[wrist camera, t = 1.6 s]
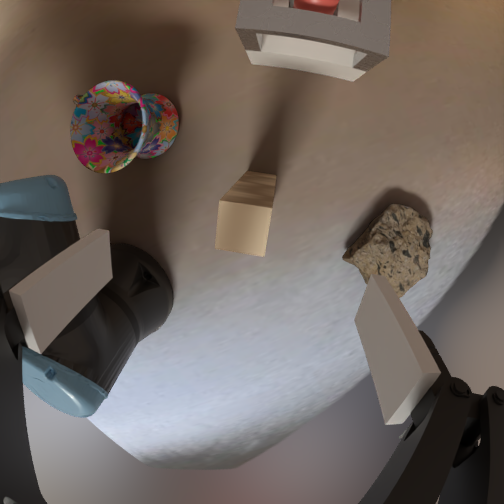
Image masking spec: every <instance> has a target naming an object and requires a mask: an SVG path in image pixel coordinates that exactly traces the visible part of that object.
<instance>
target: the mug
mask: <svg viewBox="0 0 504 504" xmlns="http://www.w3.org/2000/svg"><path fill="white" fill-rule="evenodd" d="M73 102H74V103H75V104H76V105H77V106H76V109H75V111H74V114H73V117H72V121H71V130H70V134H71V142H72V146H73V149H74V152H75V154H76V156H77V158H78V159H79V160H80V162H81V163H82V164H83V165H84V166H85V167H87V168H88V169H90V170H92V171H94V172H98V173H111V172H115V171H118V170H120V169H122V168H123V167H125V166H126V165H128V164H129V163H130V162H131V161H132V160H133V159H134V158H135V157H138V158H143V159H150V158H154V157H157V156H159V155H161V154H162V153H164V152H165V151H166V150H167V149H168V148H169V147H170V146H171V145H172V143H173V142H174V140H175V138H176V135H177V132H178V127H179V119H178V114H177V111H176V109H175V107H174V105H173V104H172V103H171V101H169V100H168V99H167V98H166V97H164V96H162V95H159V94H155V93H148V94H144V95H140V93H139V92H138V91H137V90H136V89H135V88H134V87H133V86H131V85H130V84H128V83H126V82H123V81H119V80H109V81H105V82H102V83H99V84H97V85H95V86H94V87H92V88H91V89H90V90H89V91H88V92H86V94H85V95H76V96H75V97H74V99H73Z"/></svg>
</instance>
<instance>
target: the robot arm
mask: <svg viewBox="0 0 504 504" xmlns="http://www.w3.org/2000/svg"><path fill="white" fill-rule="evenodd" d="M76 219H77V216H76V214H75V213H74V211H73V208H72V204H71V200H70V196H69V192H68V188H67V185H66V183H65V182H64V181H63V179H61V178H60V177H58V176H56V175H44V176H37V177H31V178H25V179H19V180H14V181H9V182H5V183H0V504H47V502H46V501H45V500H44V498H43V496H42V494H41V492H40V490H39V486H38V482H37V478H36V474H35V470H34V465H33V461H32V456H31V451H30V446H29V440H28V433H27V427H26V418H25V408H24V396H23V384H24V385H26V387H27V388H28V389H29V390H31V391H32V392H33V393H34V394H35V395H37V396H38V397H39V398H40V399H42V400H43V401H44V402H46V403H47V404H49V405H50V406H52V407H54V408H56V409H58V410H59V411H62V412H64V413H66V414H69V415H71V416H75V417H81V418H82V417H83V418H84V417H89V416H91V415H93V414H94V413H95V412H96V411H97V409H98V408H99V406H100V405H101V403H102V402H103V400H104V399H106V398H107V397H108V394H109V392H110V390H111V388H112V387H113V385H114V383H115V381H116V380H117V378H118V376H119V374H120V373H121V371H122V369H123V367H124V366H125V364H126V362H127V360H128V359H129V357H130V355H131V354H132V352H133V350H134V348H135V347H136V345H137V344H138V342H140V341H141V340H143V339H144V338H146V337H147V336H148V335H150V334H151V333H153V332H155V331H157V330H158V329H159V328H160V327H161V326H162V325H163V324H164V322H165V321H166V319H167V317H168V316H169V314H170V312H171V309H172V305H173V292H172V288H171V285H170V282H169V279H168V277H167V275H166V274H165V272H164V271H163V269H162V268H161V266H160V265H159V264H158V263H157V262H156V261H155V260H154V259H153V258H152V257H151V256H150V255H148V254H147V253H146V252H144V251H142V250H140V249H139V248H136V247H134V246H131V245H127V244H111V245H110V236H109V230H103V229H96V230H94V231H93V232H91V233H90V234H88V235H87V236H85V237H83V238H82V239H80V237H79V233H78V229H77V225H76V221H75V220H76ZM354 321H355V324H356V327H357V330H358V333H359V336H360V339H361V342H362V345H363V348H364V351H365V355H366V358H367V361H368V364H369V368H370V371H371V374H372V378H373V381H374V385H375V388H376V392H377V395H378V399H379V403H380V406H381V410H382V414H383V418H384V422H385V424H386V425H387V424H388V425H389V424H401V423H403V422H404V421H405V420H406V419H407V417H408V416H409V415H410V414H411V416H412V420H413V422H412V424H411V425H410V426H409V427H408V428H407V429H406V430H405V431H404V432H403V434H402V435H401V436H400V437H399V438H400V439H401V438H402V437H403V438H402V439H401V441H400V443H399V445H398V446H397V448H396V450H395V451H394V453H393V455H392V456H391V458H390V459H389V461H388V463H387V464H386V466H385V467H384V469H383V470H382V472H381V473H380V475H379V476H378V478H377V479H376V480H375V482H374V483H373V485H372V486H371V488H370V489H369V490H368V492H367V493H366V494H365V496H364V497H363V498H362V500H361V501H360V502H359V503H358V504H435V503H436V502H437V499H438V497H439V495H440V497H439V501H438V504H504V391H503V389H501V388H499V387H496V386H491V387H489V389H488V390H487V391H486V392H485V394H484V395H479V394H474V393H472V392H471V389H470V388H469V386H468V385H467V384H466V383H465V382H464V381H463V380H461V379H459V378H456V377H451V375H450V373H449V371H448V369H447V367H446V365H445V364H444V362H443V360H442V358H441V356H440V355H439V353H438V351H437V349H436V348H435V346H434V344H433V342H432V341H431V339H430V338H429V337H428V336H427V335H426V334H425V333H424V332H423V331H419V330H417V328H416V326H415V324H414V322H413V321H412V319H411V317H410V316H409V314H408V312H407V311H406V309H405V307H404V306H403V304H402V302H401V301H400V299H399V298H398V296H397V294H396V293H395V291H394V290H393V288H392V286H391V285H390V283H389V282H388V280H387V279H386V277H385V276H382V275H376V274H371V276H370V279H369V282H368V284H367V287H366V290H365V293H364V296H363V298H362V301H361V304H360V307H359V309H358V312H357V314H356V317H355V320H354ZM480 438H481V441H480V444H479V446H478V440H479V439H480Z"/></svg>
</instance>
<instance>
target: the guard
mask: <svg viewBox="0 0 504 504" xmlns="http://www.w3.org/2000/svg"><path fill="white" fill-rule="evenodd" d="M273 3H274V0H240V5H239V11H238V16H237V21H236V27H235V29H236V31H237V33H238V35H239V37H240V39H241V41H242V44H243V46H244V48H245V50H249V51H260V52H261V48H262V41H263V37H262V34H268V35H277V36H285V37H292V38H298V39H304V40H310V41H315V42H320V43H325V44H330V45H334V46H339V47H343V48H347V49H351V50H355V51H357V52H356V53H355V54H354V57H353V66H352V68H355V69H358V70H362V71H366V72H367V71H369V70H370V69H371V68H373V67H374V66H376V65H377V64H379V63H380V62H382V61H383V60H385V59H386V58H387V57H389V46H390V26H391V0H360V4H359V20H358V21H354V20H350V19H346V18H342V17H338V16H334V15H329V14H324V13H319V12H314V11H308V10H302V9H296V8H288V7H280V6H273Z"/></svg>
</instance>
